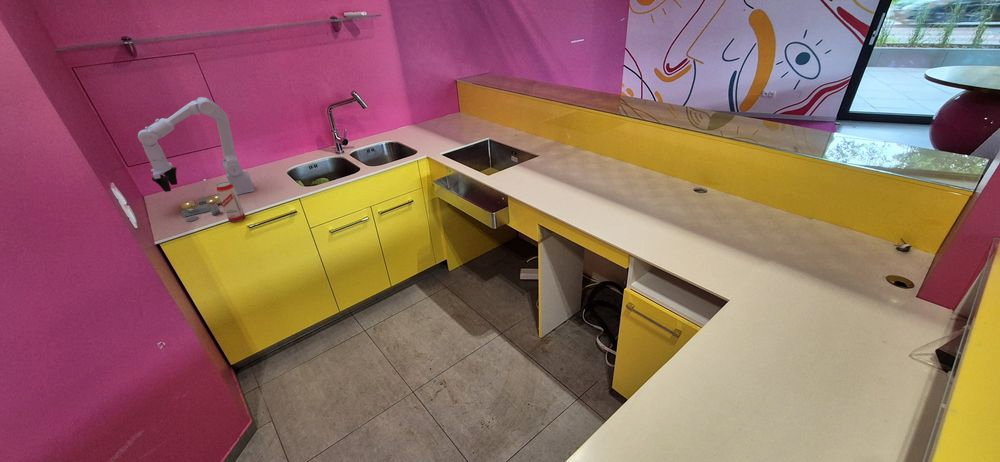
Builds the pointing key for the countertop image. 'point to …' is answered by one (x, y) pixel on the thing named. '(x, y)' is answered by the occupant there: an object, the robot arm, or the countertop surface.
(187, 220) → the pad
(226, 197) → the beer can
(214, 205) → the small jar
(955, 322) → the countertop surface
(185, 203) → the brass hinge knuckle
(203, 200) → the fixed leaf
